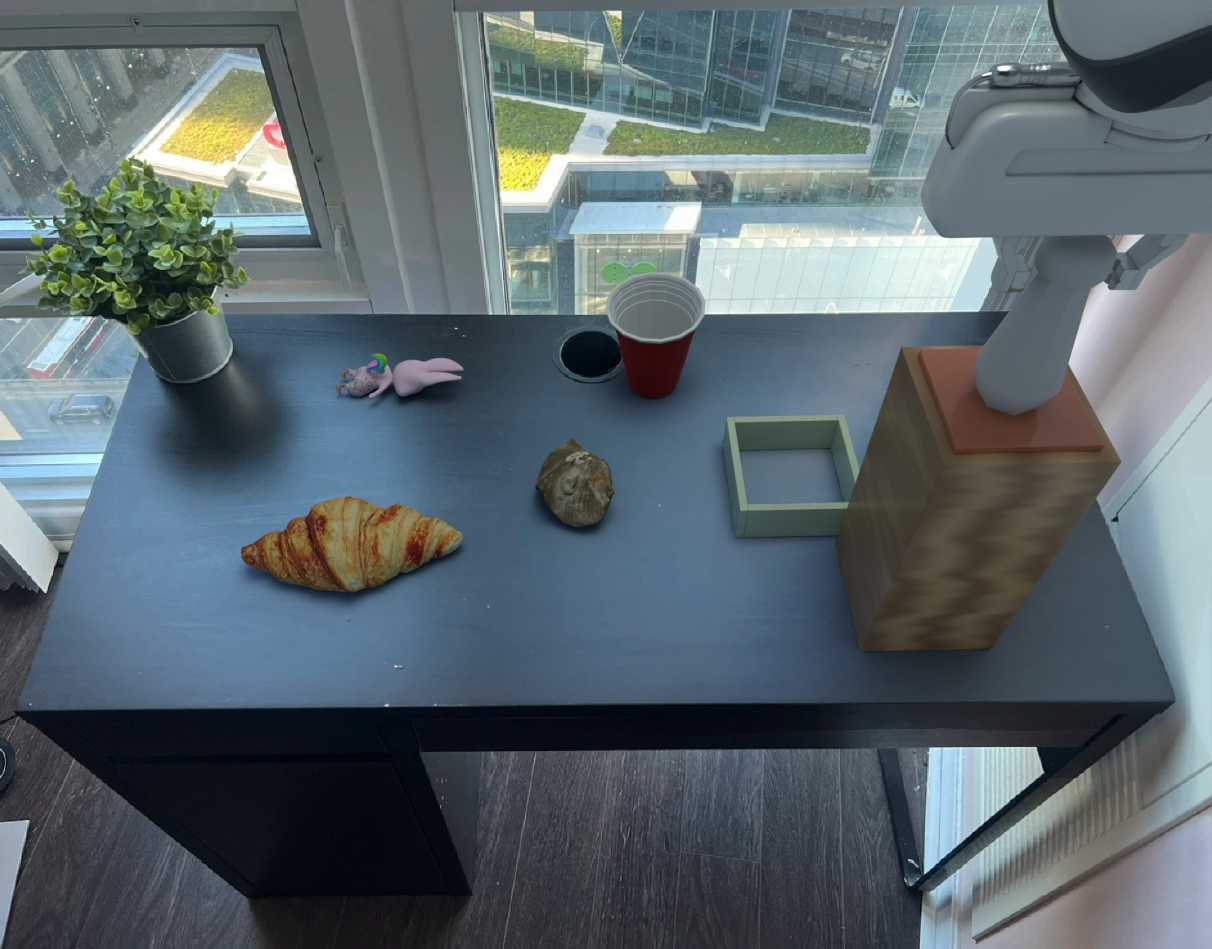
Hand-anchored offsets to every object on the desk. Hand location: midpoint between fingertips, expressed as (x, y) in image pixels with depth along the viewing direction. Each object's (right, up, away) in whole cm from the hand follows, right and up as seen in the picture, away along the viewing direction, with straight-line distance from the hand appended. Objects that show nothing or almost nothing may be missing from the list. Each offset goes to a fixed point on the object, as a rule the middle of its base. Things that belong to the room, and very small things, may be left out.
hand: (1061, 285), depth 53 cm
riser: (0, -23, +28) cm, 36 cm away
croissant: (-53, -21, +31) cm, 65 cm away
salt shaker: (0, -6, +7) cm, 10 cm away
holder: (-9, -13, +36) cm, 40 cm away
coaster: (0, -7, +8) cm, 10 cm away
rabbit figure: (-53, -2, +47) cm, 70 cm away
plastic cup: (-23, -1, +47) cm, 52 cm away
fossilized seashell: (-32, -14, +36) cm, 50 cm away
